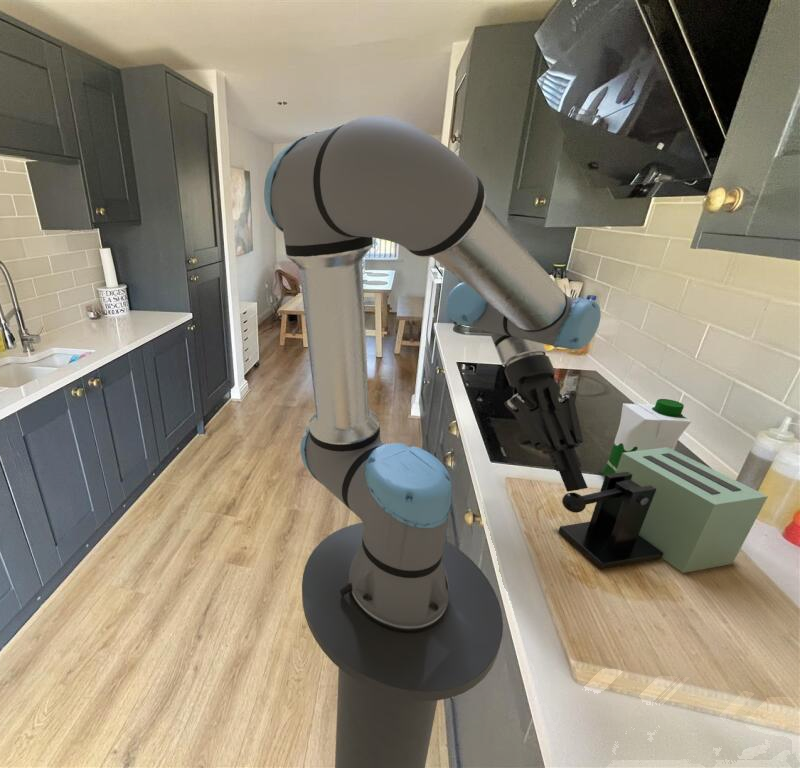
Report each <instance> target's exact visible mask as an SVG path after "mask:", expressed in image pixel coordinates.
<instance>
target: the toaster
mask: <svg viewBox="0 0 800 768" xmlns="http://www.w3.org/2000/svg"><path fill="white" fill-rule="evenodd" d="M621 472H629V473H631V474H632V478H631V480H632V481H633V482H635V483H637V484H638V485H640V486H642V487H643V486H650V485H651V486H652V487H654V488H656V492H655V494H654V497H653V499H652V502H651V504H650V507H649V510H648V512H647V515H646V517H645V520H644V522H643V525H642V527H641V530H640V532H639V536H641V537H642V538H643V539H645V540H646V541H648V542H649V543H650V544H652V545H653V546H654V547H656V548H657V549H658V550H660V551H661V552H663V553H664V554H663V556H662V558H661V559H663V560H665V561H666V562H667V563H668V564H670V565H671V566H672V567H674V568H675V569H676V570H677V571H679V572H680V573H681V574H685V573H690V572H697V571H702V570H707V569H712V568H718V567H722V566H723V567H724V566H728V565H729V566H730V565H733V564H734V562H735V560H736V557H737V556H738V554H739V552H740V550H741V548H742V546H743V544H744V543H745V541H746V539H747V537H748V535H749V533H750V531H751V529H752V528H753V525H754V524H755V522H756V520H757V518H758V516H759V514H760V512H761V510H762V509H763V506H764V505H765V503H766V501H767V499H768V497H769V496H768V495H766V494H764V493H763V492H760V491H758V490H756V489H754V488H752V487H750V486H748V485H745V484H744V483H742V482H740V481H738V480H736V479H733V478H732V477H730V476H727V475H726V474H723V473H721V472H719V471H717V470H715V469H713V468H711V467H709V466H707V465H705V464H703V463H701V462H699V461H697V460H695V459H693V458H691V457H688V456H686V455H685V454H682V453H680V452H679V451H676V450H675V449H674V450H673V449H670V448H668V447H664V448H656V449H648V450H640V451H633V452H625V453H622V455H621V458H620V461H619V464H618V467H617V470H616V473H621ZM619 512H620V511H619Z"/></svg>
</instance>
